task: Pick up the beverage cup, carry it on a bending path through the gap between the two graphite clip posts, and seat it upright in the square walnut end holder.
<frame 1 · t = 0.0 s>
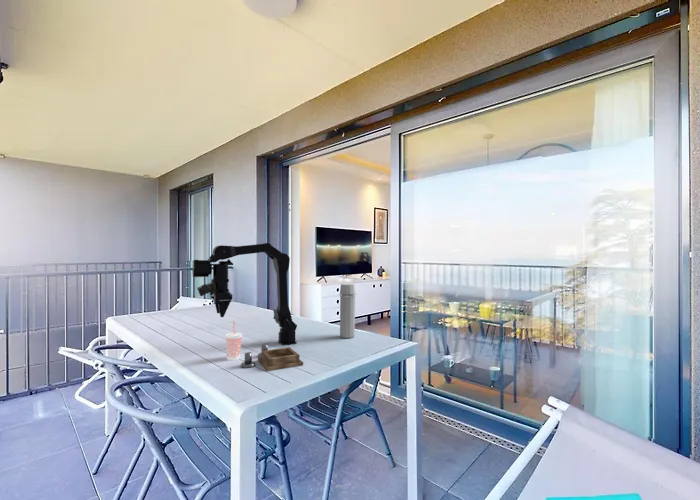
hand: (220, 315, 136), 15 cm above the table, tool pointing down, fingers open, 9 cm apart
clip post 1: (248, 365, 120), on the table
clip post 2: (264, 356, 131), on the table
beverage cup: (233, 358, 128), on the table
end holder: (280, 362, 123), on the table
water bottle: (347, 337, 160), on the table
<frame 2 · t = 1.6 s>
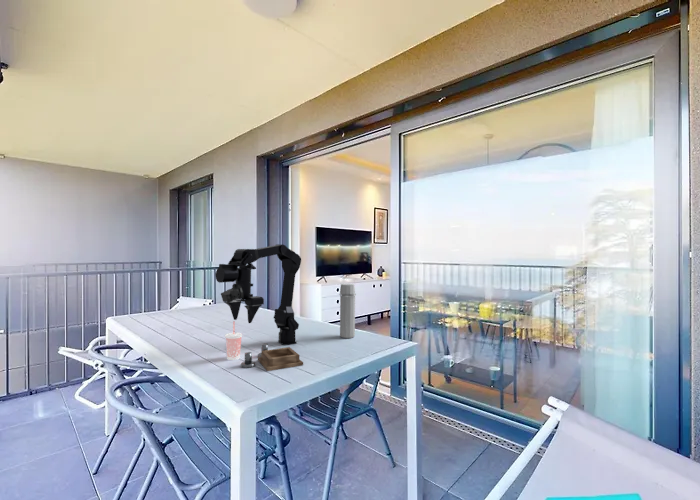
hand: (242, 321, 131), 13 cm above the table, tool pointing down, fingers open, 9 cm apart
nothing on the table moved.
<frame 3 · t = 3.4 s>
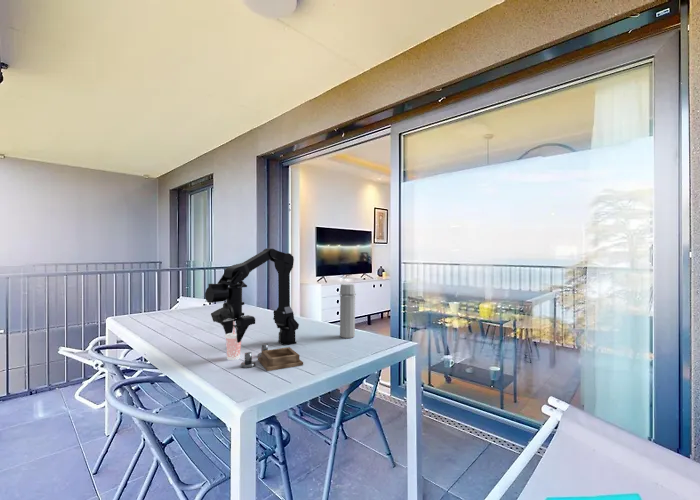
hand: (233, 340, 128), 7 cm above the table, tool pointing down, fingers closed on beverage cup, 6 cm apart
beverage cup: (233, 358, 128), on the table, touching gripper
everything else where it was.
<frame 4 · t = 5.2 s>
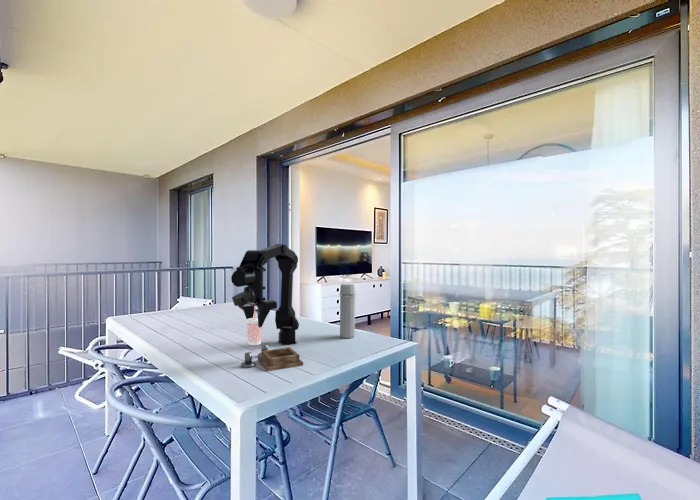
hand: (254, 325, 125), 13 cm above the table, tool pointing down, fingers closed on beverage cup, 6 cm apart
beverage cup: (254, 344, 125), point 6 cm above the table, touching gripper
everything else where it was.
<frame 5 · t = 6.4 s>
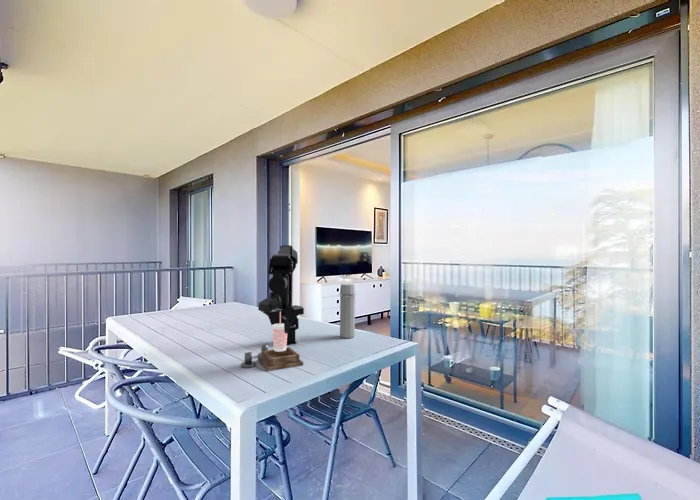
hand: (280, 331, 123), 11 cm above the table, tool pointing down, fingers closed on beverage cup, 6 cm apart
beverage cup: (280, 350, 123), point 4 cm above the table, touching gripper
everything else where it was.
when the fingers open (8 cm above the table, at t = 7.4 s): beverage cup stays where it is, resting on end holder.
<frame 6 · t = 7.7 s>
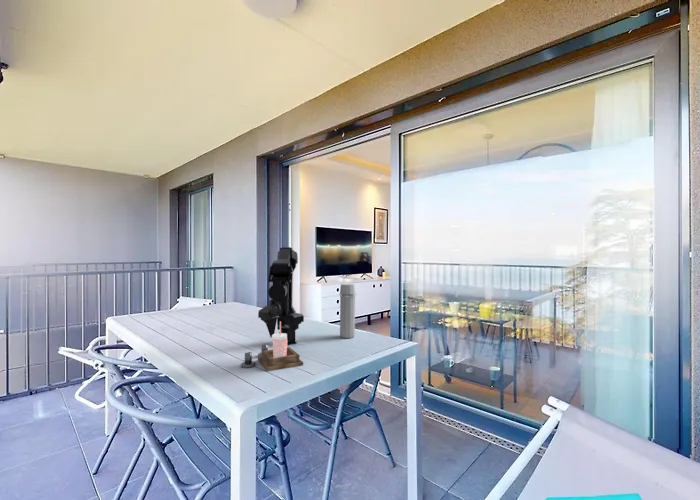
hand: (280, 339, 123), 8 cm above the table, tool pointing down, fingers open, 9 cm apart
beverage cup: (279, 360, 123), point 1 cm above the table, touching end holder
everything else where it was.
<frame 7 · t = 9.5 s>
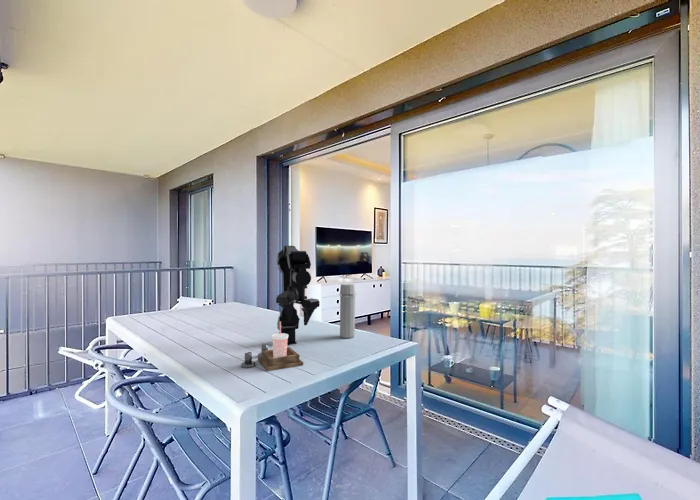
hand: (297, 323, 130), 13 cm above the table, tool pointing down, fingers open, 9 cm apart
nothing on the table moved.
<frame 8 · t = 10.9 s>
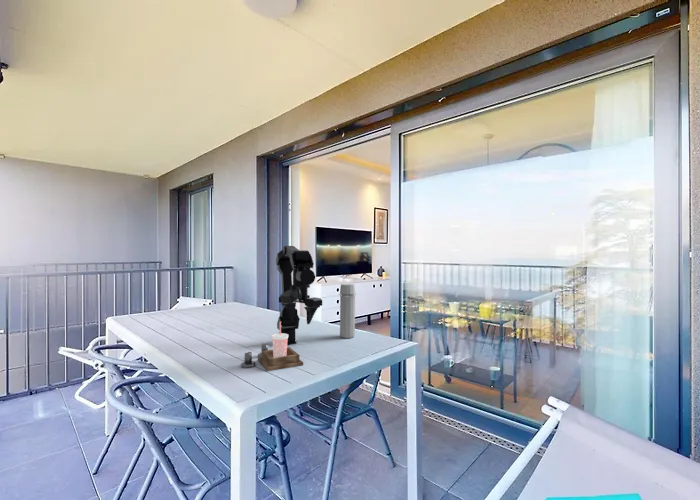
hand: (299, 322, 131), 13 cm above the table, tool pointing down, fingers open, 9 cm apart
nothing on the table moved.
at the end: beverage cup 0.1 cm off-centre on the end holder, point 0.8 cm above the end holder's base; beverage cup tilted 0°; the gripper is holding nothing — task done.
